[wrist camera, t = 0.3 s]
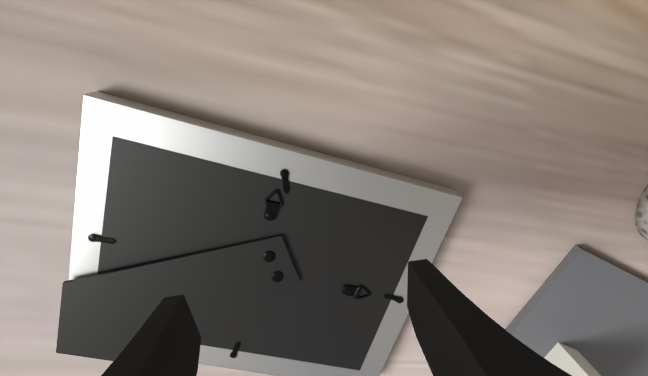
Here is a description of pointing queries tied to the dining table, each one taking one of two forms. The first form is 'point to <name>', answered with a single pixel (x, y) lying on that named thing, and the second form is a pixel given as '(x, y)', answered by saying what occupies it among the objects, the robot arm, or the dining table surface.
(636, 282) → the mat
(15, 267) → the dining table surface
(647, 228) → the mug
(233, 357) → the picture frame
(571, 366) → the tile
